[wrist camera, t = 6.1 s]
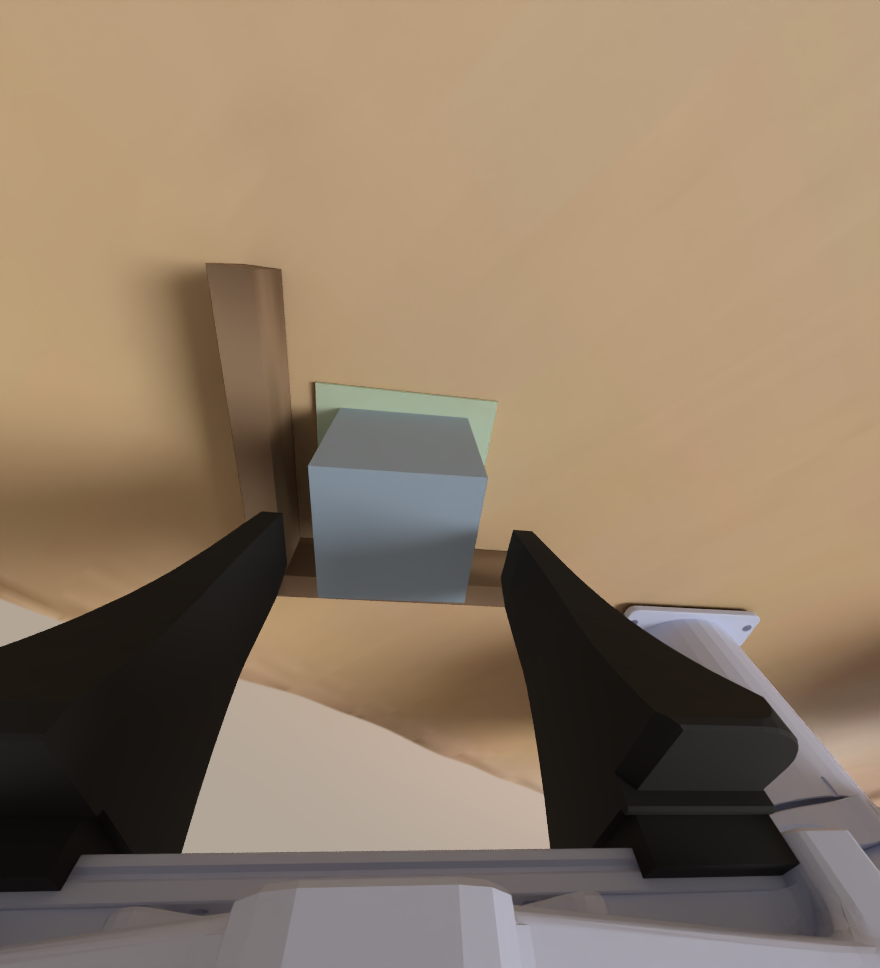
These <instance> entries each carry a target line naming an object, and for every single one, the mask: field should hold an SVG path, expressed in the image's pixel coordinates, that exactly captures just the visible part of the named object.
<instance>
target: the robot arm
mask: <svg viewBox="0 0 880 968" xmlns="http://www.w3.org/2000/svg"><path fill="white" fill-rule="evenodd" d="M286 567H287V556H286V545H285V535H284V524H283V513H278V512H265V511H261V512H260V513H258V514H257V515H255V516H254V517H252V518H251V519H249V520H248V521H247V522H245V523H244V524H242V525H241V526H240V527H238V528H237V529H235V530H234V531H232V532H231V533H230V534H228V535H227V536H225V537H224V538H222V539H221V540H219V541H218V542H217V543H215V544H214V545H212V546H211V547H209V548H208V549H206V550H205V551H203V552H201V553H200V554H198V555H197V556H195V557H193V558H192V559H190V560H189V561H187V562H185V563H184V564H182V565H181V566H179V567H177V568H176V569H174V570H172V571H171V572H169V573H167V574H165V575H164V576H162V577H160V578H158V579H156V580H155V581H153V582H151V583H149V584H147V585H145V586H143V587H141V588H139V589H137V590H136V591H134V592H132V593H130V594H128V595H126V596H123V597H121V598H119V599H117V600H115V601H113V602H110V603H108V604H106V605H104V606H102V607H99V608H97V609H95V610H93V611H91V612H88V613H86V614H84V615H82V616H80V617H77V618H75V619H72V620H70V621H67V622H65V623H63V624H60V625H58V626H55V627H53V628H51V629H48V630H45V631H43V632H40V633H37V634H35V635H32V636H29V637H27V638H24V639H21V640H19V641H16V642H13V643H10V644H8V645H5V646H2V647H0V968H880V808H879V807H878V806H876V805H875V804H873V802H872V801H871V800H870V799H869V798H868V797H867V795H866V794H865V793H864V792H863V791H862V790H861V788H860V787H859V786H858V785H857V784H856V783H855V781H854V780H853V779H852V778H851V777H850V775H849V774H848V773H847V772H846V771H845V770H844V768H843V767H842V766H841V765H840V764H839V763H838V761H837V760H836V759H835V758H834V757H833V756H832V754H831V753H830V752H829V751H828V750H827V749H826V747H825V746H824V745H823V744H822V743H821V741H820V740H819V739H818V738H817V737H816V736H815V734H814V733H813V732H812V731H811V730H810V729H809V727H808V726H807V725H806V724H805V723H804V722H803V720H802V719H801V718H800V717H799V716H798V715H797V713H796V712H795V711H794V710H793V709H792V707H791V706H790V705H789V704H788V703H787V702H786V700H785V699H784V698H783V697H782V696H781V695H780V693H779V692H778V691H777V690H776V689H775V688H774V686H773V685H772V684H771V683H770V682H769V681H768V679H767V678H766V677H765V676H764V675H763V673H762V672H761V671H760V670H759V669H758V668H757V666H756V665H755V664H754V663H753V662H752V661H751V659H750V658H749V657H748V656H747V655H746V654H745V652H744V651H743V650H742V649H741V648H740V646H741V645H742V643H743V642H744V641H745V640H746V638H747V637H748V636H749V634H750V633H751V632H752V630H753V629H754V628H755V627H756V625H757V624H758V623H759V621H760V618H759V617H758V616H757V615H756V614H755V613H754V612H751V611H732V610H712V609H693V608H673V607H653V606H631V607H629V608H628V609H627V610H626V611H625V613H624V615H623V614H621V613H620V612H619V611H617V610H616V609H615V608H614V607H612V606H611V605H610V604H608V603H607V602H606V601H605V600H604V599H602V598H601V597H600V596H599V595H598V594H596V593H595V592H594V591H593V590H592V589H591V588H590V587H588V586H587V585H586V584H585V583H584V582H583V581H582V580H581V579H580V578H579V577H577V576H576V575H575V574H574V573H573V572H572V571H571V570H570V569H569V568H568V567H567V566H566V565H565V564H564V563H563V562H562V561H561V560H560V559H559V558H558V557H557V556H556V555H555V554H554V553H553V552H552V551H551V550H550V549H549V548H548V547H547V546H546V545H545V544H544V543H543V542H542V541H541V540H540V539H539V538H538V537H537V536H536V535H535V534H534V533H533V532H532V531H521V530H513V533H512V537H511V541H510V544H509V548H508V552H507V556H506V559H505V563H504V567H503V571H502V574H501V585H502V592H503V599H504V605H505V609H506V613H507V617H508V620H509V624H510V627H511V631H512V634H513V638H514V641H515V645H516V648H517V652H518V655H519V659H520V662H521V666H522V669H523V673H524V677H525V681H526V685H527V690H528V696H529V702H530V707H531V713H532V718H533V724H534V730H535V737H536V743H537V749H538V755H539V762H540V770H541V777H542V784H543V791H544V798H545V807H546V816H547V824H548V833H549V841H550V849H513V850H512V849H510V850H509V849H507V850H506V849H505V850H428V851H350V852H349V851H345V852H275V853H274V852H272V853H271V852H267V853H192V854H191V853H188V854H187V853H185V854H181V853H182V849H183V846H184V842H185V839H186V836H187V832H188V829H189V826H190V822H191V819H192V816H193V812H194V808H195V805H196V802H197V798H198V796H199V792H200V789H201V786H202V783H203V780H204V777H205V774H206V770H207V767H208V764H209V761H210V758H211V755H212V752H213V749H214V746H215V743H216V740H217V737H218V734H219V731H220V728H221V725H222V722H223V720H224V717H225V714H226V711H227V708H228V706H229V703H230V700H231V697H232V694H233V692H234V689H235V686H236V683H237V681H238V678H239V676H240V673H241V671H242V669H243V666H244V664H245V662H246V660H247V658H248V656H249V653H250V651H251V649H252V647H253V645H254V643H255V641H256V639H257V637H258V635H259V633H260V631H261V629H262V627H263V624H264V622H265V620H266V618H267V616H268V614H269V612H270V610H271V608H272V606H273V603H274V601H275V599H276V597H277V595H278V592H279V589H280V586H281V583H282V580H283V577H284V574H285V571H286Z"/></svg>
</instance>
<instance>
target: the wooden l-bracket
mask: <svg viewBox="0 0 880 968" xmlns="http://www.w3.org/2000/svg"><path fill="white" fill-rule="evenodd" d="M206 269H207V276H208V282H209V289H210V295H211V301H212V308H213V314H214V321H215V327H216V334H217V340H218V347H219V353H220V360H221V366H222V372H223V379H224V385H225V392H226V398H227V405H228V411H229V418H230V424H231V430H232V437H233V443H234V450H235V456H236V463H237V469H238V476H239V482H240V488H241V495H242V501H243V508H244V514H245V521H246V522H247V521H248V520H249V519H251V518H252V517H254V516H255V515H257V514H258V513H260V512H261V511H265V512H278V513H283V524H284V535H285V545H286V556H287V567H286V571H285V574H284V577H283V580H282V583H281V586H280V589H279V592H278V595H277V596H288V597H308V598H318V591H317V578H316V565H315V552H314V539H305V538H300V527H299V513H298V499H297V485H296V471H295V457H294V443H293V429H292V415H291V401H290V387H289V373H288V359H287V345H286V331H285V317H284V303H283V289H282V275H281V269H276V268H268V267H261V266H254V265H246V264H224V263H206ZM506 556H507V551H492V550H476V549H474V554H473V560H472V565H471V570H470V576H469V581H468V586H467V592H466V597H465V602H464V603H452V602H423V601H394V600H370V601H391V602H411V603H432V604H452V605H473V606H494V607H505V605H504V599H503V592H502V585H501V574H502V571H503V567H504V563H505V559H506ZM329 599H335V598H329ZM349 600H364V599H349Z"/></svg>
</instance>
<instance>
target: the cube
mask: <svg viewBox="0 0 880 968" xmlns="http://www.w3.org/2000/svg"><path fill="white" fill-rule="evenodd" d="M308 473H309V486H310V499H311V512H312V525H313V539H314V552H315V565H316V578H317V591H318V598H335V599H364V600H394V601H423V602H452V603H464V602H465V597H466V592H467V586H468V581H469V576H470V570H471V565H472V560H473V554H474V549H475V544H476V538H477V533H478V528H479V522H480V517H481V512H482V506H483V501H484V496H485V490H486V485H487V480H488V477H487V474H486V471H485V468H484V465H483V462H482V459H481V456H480V453H479V450H478V447H477V444H476V441H475V438H474V435H473V432H472V429H471V426H470V423H469V420H468V418H462V417H450V416H438V415H426V414H413V413H401V412H389V411H377V410H364V409H352V408H340V409H339V411H338V413H337V415H336V416H335V418H334V420H333V422H332V424H331V425H330V427H329V429H328V431H327V433H326V434H325V436H324V438H323V440H322V442H321V443H320V445H319V447H318V449H317V451H316V452H315V454H314V456H313V458H312V459H311V461H310V463H309V465H308Z"/></svg>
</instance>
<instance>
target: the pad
mask: <svg viewBox="0 0 880 968" xmlns="http://www.w3.org/2000/svg"><path fill="white" fill-rule="evenodd" d="M315 389H316V415H317V442H318V447H319V445H320V443H321V442H322V440H323V438H324V436H325V434H326V433H327V431H328V429H329V427H330V425H331V424H332V422H333V420H334V418H335V416H336V415H337V413H338V411H339V409H340V408H352V409H364V410H377V411H389V412H401V413H413V414H426V415H438V416H450V417H462V418H468V420H469V423H470V426H471V429H472V432H473V435H474V438H475V441H476V444H477V447H478V450H479V453H480V456H481V459H482V462H483V465H484V468H485V463H486V458H487V453H488V448H489V443H490V438H491V433H492V428H493V423H494V418H495V413H496V409H497V404H498V402H497V401H491V400H482V399H473V398H463V397H454V396H444V395H435V394H426V393H416V392H407V391H398V390H388V389H379V388H370V387H360V386H351V385H342V384H332V383H323V382H316V383H315Z"/></svg>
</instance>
